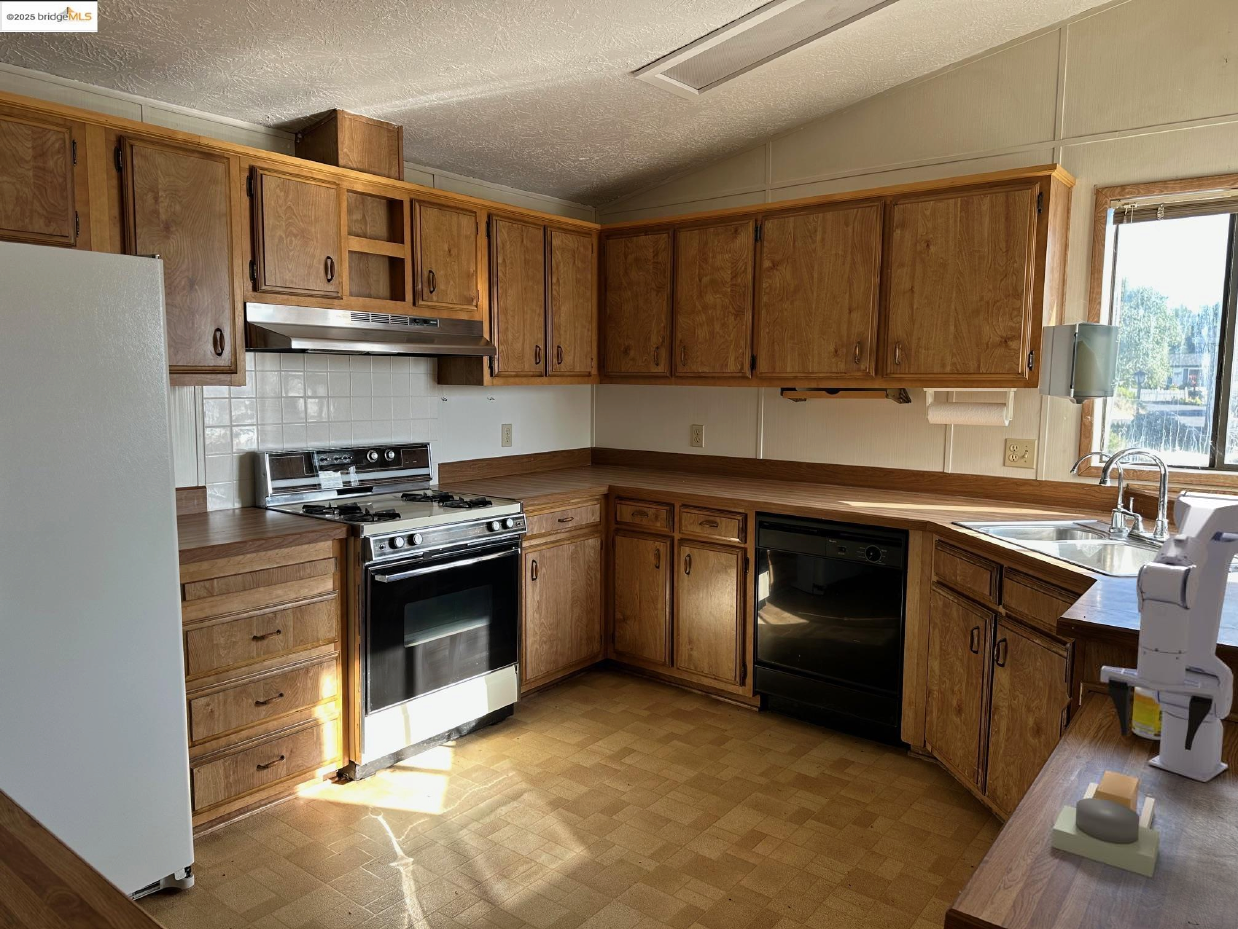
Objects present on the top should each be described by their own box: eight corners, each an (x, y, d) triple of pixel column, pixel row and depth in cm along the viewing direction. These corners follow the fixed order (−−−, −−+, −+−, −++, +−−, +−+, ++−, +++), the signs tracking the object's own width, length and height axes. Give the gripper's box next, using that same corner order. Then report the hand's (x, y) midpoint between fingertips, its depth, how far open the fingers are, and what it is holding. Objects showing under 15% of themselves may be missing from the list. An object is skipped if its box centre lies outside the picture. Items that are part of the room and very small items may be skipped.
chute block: (1104, 804, 120) (1106, 770, 120) (1136, 812, 118) (1138, 778, 117) (1094, 825, 114) (1096, 790, 114) (1128, 835, 111) (1130, 799, 111)
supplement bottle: (1160, 744, 142) (1164, 685, 141) (1125, 732, 146) (1129, 676, 146) (1175, 737, 145) (1179, 679, 144) (1141, 726, 149) (1144, 670, 149)
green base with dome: (1078, 792, 123) (1080, 759, 123) (1166, 816, 117) (1169, 781, 116) (1051, 846, 108) (1054, 809, 108) (1152, 877, 101) (1154, 838, 101)
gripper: (1099, 644, 120) (1093, 735, 121) (1224, 665, 111) (1216, 764, 112) (1107, 633, 125) (1101, 721, 126) (1226, 652, 116) (1218, 747, 117)
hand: (1155, 740), depth 119 cm, fingers open, 7 cm apart
